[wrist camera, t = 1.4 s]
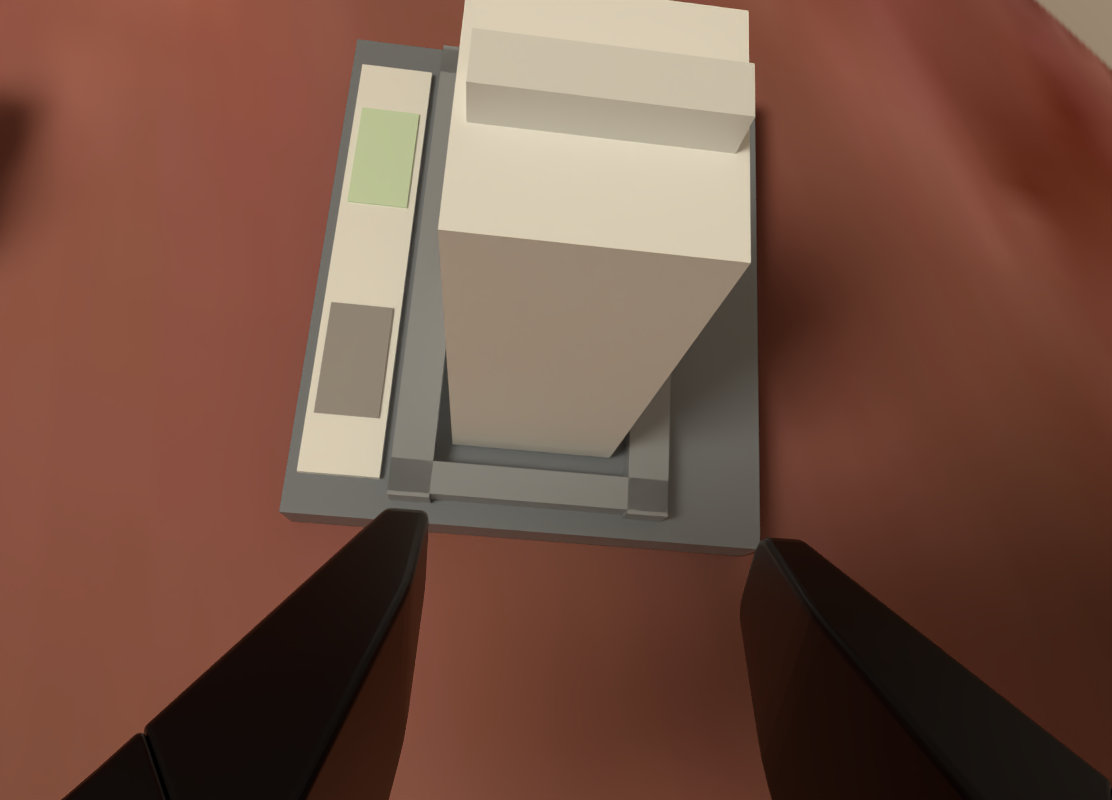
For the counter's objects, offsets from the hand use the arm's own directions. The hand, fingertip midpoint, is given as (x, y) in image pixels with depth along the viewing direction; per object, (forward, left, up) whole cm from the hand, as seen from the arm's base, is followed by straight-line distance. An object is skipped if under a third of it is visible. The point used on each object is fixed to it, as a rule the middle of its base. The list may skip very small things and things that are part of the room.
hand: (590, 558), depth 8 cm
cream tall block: (+5, +4, -12) cm, 13 cm away
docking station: (+7, +6, -14) cm, 16 cm away
